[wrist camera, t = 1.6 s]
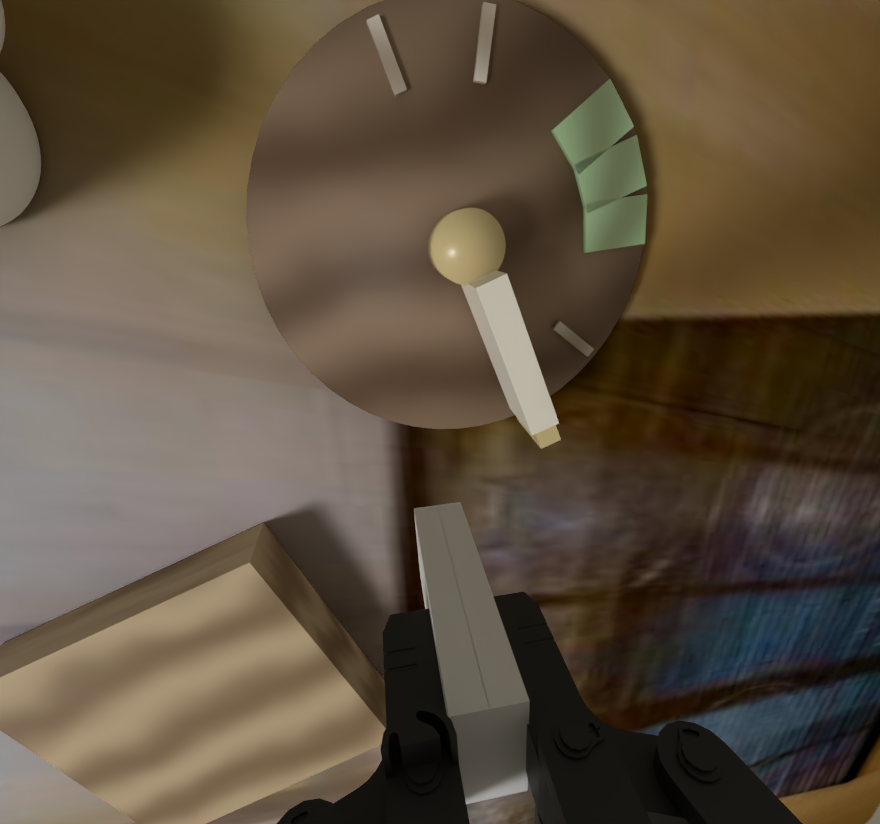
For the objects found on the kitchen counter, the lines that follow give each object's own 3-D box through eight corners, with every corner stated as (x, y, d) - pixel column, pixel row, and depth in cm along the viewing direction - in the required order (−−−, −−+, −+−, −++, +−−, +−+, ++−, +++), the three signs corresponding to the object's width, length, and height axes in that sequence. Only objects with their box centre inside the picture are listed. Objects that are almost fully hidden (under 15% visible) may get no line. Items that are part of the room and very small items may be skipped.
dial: (159, 119, 21) (145, 111, 20) (579, -84, 21) (594, -107, 19) (369, 473, 30) (369, 484, 29) (666, 336, 30) (680, 341, 28)
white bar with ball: (416, 227, 23) (427, 226, 19) (478, 198, 23) (502, 190, 19) (498, 425, 28) (521, 457, 24) (549, 401, 28) (580, 430, 24)
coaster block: (3, 642, 30) (-47, 698, 27) (263, 522, 30) (249, 562, 26) (184, 783, 39) (165, 841, 35) (391, 690, 38) (394, 738, 34)
